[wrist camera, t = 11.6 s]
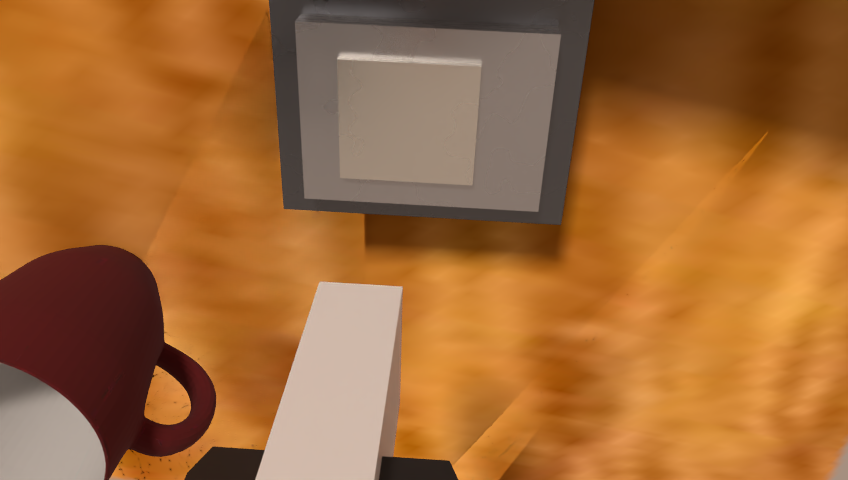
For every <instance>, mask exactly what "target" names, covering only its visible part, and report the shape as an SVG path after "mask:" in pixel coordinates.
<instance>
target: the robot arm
mask: <svg viewBox="0 0 848 480" xmlns="http://www.w3.org/2000/svg"><path fill="white" fill-rule="evenodd" d="M402 291H403V287H400V286H383V285H367V284H350V283H334V282H319V285H318V288H317V291H316V294H315V297H314V301H313V304H312V307H311V310H310V313H309V316H308V319H307V322H306V325H305V328H304V331H303V334H302V337H301V341H300V344H299V347H298V350H297V353H296V356H295V359H294V362H293V365H292V368H291V371H290V374H289V377H288V381H287V384H286V387H285V390H284V393H283V396H282V399H281V402H280V405H279V408H278V411H277V414H276V417H275V421H274V424H273V427H272V430H271V433H270V436H269V439H268V442H267V445H266V448H265V450H254V449H240V448H225V447H212V448H211V449H210V450H209V451H208V452H207V453H206V454H205V455H204V456H203V457H202V458H201V459H200V460H199V461H198V462H197V464H196V465H195V466H194V467H193V468H192V469H191V470H190V471H189V472H188V473H187V475H186V477H185V480H458V478H457V476H456V474H455V472H454V470H453V468H452V465H451V463H450V461H444V460H429V459H415V458H400V457H393V453H394V445H395V437H396V428H397V420H398V412H399V404H400V376H401V333H402Z"/></svg>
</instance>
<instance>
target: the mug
mask: <svg viewBox="0 0 848 480" xmlns="http://www.w3.org/2000/svg"><path fill="white" fill-rule="evenodd" d="M156 365H157V366H159V367H161V368H162V369H164V370H165V371H167V372H168V373H169V374H170V375H172V376H173V377H174V378H175V379H176V380H178V381H179V382H180V384H181V385H182V386H183V387H184V388H185V390H186V391H187V393H188V395H189V398H190V401H191V411H190V414H189V416H188V417H187V418H186V419H185V420H184V421H182V422H180V423H178V424H173V425H163V424H159V423H156V422H153V421H151V420H149V419H147V418H145V416H144V410H145V403H146V399H147V395H148V390H149V387H150V383H151V380H152V376H153V372H154V369H155V366H156ZM215 407H216V393H215V388H214V385H213V383H212V381H211V379H210V378H209V376H208V375H207V373H206V371H205V370H204V369H203V368H202V367H201V366H200V365H199V364H198V363H197V362H196V361H194V360H193V359H192V358H190V357H189V356H187V355H186V354H184V353H183V352H181V351H179V350H177V349H176V348H174V347H172V346H170V345H168V344H166V343H165V342H164V322H163V313H162V306H161V301H160V296H159V292H158V287H157V283H156V281H155V278H154V276H153V274H152V272H151V271H150V269H149V268H148V267H147V266H146V264H145V263H143V262H142V261H141V260H140V259H139V258H138V257H136V256H135V255H133V254H132V253H130V252H128V251H126V250H124V249H121V248H118V247H113V246H107V245H95V246H87V247H79V248H71V249H66V250H61V251H56V252H53V253H49V254H46V255H44V256H41V257H39V258H37V259H35V260H32V261H31V262H29V263H27V264H25V265H24V266H22V267H21V268H19V269H17V270H16V271H14V272H13V273H11V274H9V275H8V276H6V277H5V278H3V279H1V280H0V480H109V478H110V477H111V475H112V473H113V472H114V470H115V468H116V467H117V465H118V463H119V462H120V460H121V458H122V457H123V455H124V454H125V452H126V451H127V450H128V449H132V450H134V451H137V452H139V453H142V454H145V455H149V456H157V457H162V456H168V455H172V454H175V453H178V452H181V451H183V450H185V449H187V448H188V447H190V446H192V445H193V444H194V443H195V442H196V441H198V440H199V439H200V438H201V437H202V436H203V434H204V433H205V432H206V430H207V429H208V427H209V425H210V423H211V421H212V419H213V416H214V412H215Z"/></svg>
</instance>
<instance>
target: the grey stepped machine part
mask: <svg viewBox="0 0 848 480" xmlns="http://www.w3.org/2000/svg"><path fill="white" fill-rule="evenodd" d="M593 5H594V0H269V7H270V21H271V35H272V49H273V63H274V77H275V91H276V106H277V120H278V134H279V148H280V162H281V176H282V190H283V204H284V209H295V210H312V211H330V212H347V213H364V214H382V215H399V216H416V217H433V218H451V219H468V220H485V221H503V222H520V223H537V224H554V225H561V221H562V215H563V208H564V201H565V194H566V188H567V181H568V174H569V167H570V161H571V154H572V147H573V140H574V133H575V127H576V120H577V113H578V106H579V100H580V93H581V86H582V79H583V73H584V66H585V59H586V52H587V46H588V39H589V32H590V25H591V19H592V12H593Z"/></svg>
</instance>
